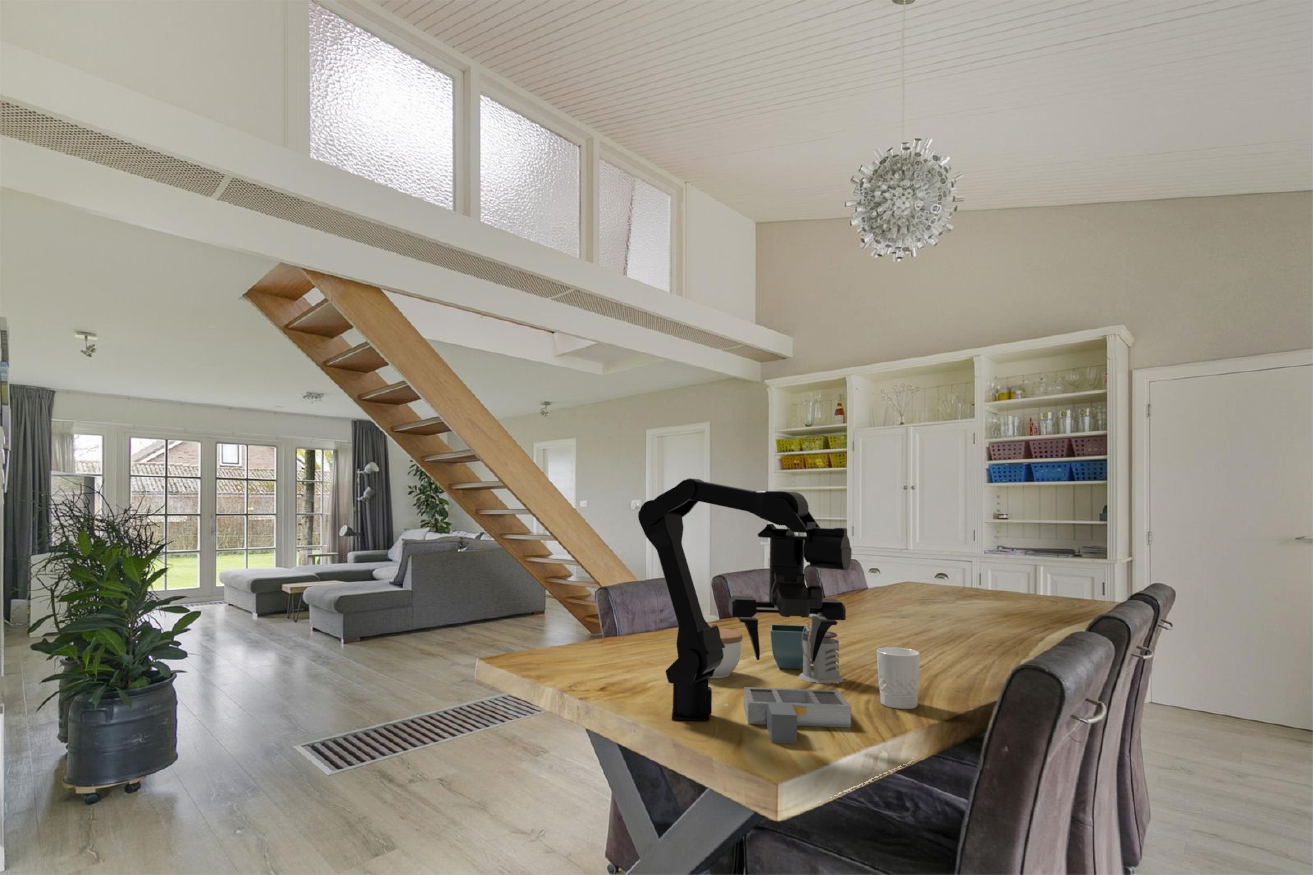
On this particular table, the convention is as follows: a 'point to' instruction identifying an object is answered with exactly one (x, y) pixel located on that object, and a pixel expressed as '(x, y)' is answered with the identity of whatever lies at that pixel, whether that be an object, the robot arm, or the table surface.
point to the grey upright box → (781, 722)
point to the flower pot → (788, 645)
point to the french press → (821, 658)
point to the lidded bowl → (728, 652)
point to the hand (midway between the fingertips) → (785, 660)
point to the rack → (799, 706)
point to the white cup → (898, 677)
